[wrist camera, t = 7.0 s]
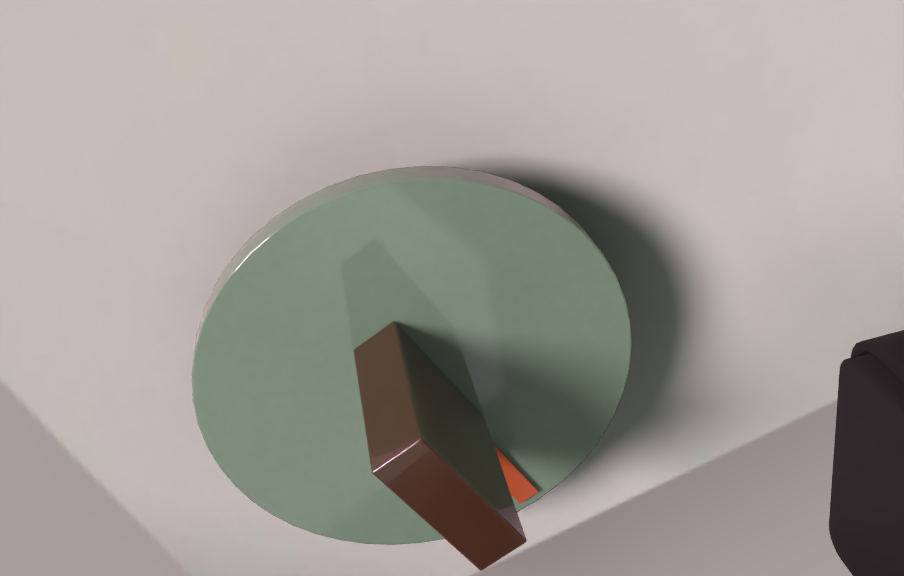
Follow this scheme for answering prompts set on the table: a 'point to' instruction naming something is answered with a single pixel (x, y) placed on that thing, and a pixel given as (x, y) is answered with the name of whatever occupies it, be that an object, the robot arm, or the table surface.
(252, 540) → the table surface
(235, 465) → the turntable plate
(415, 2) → the table surface
